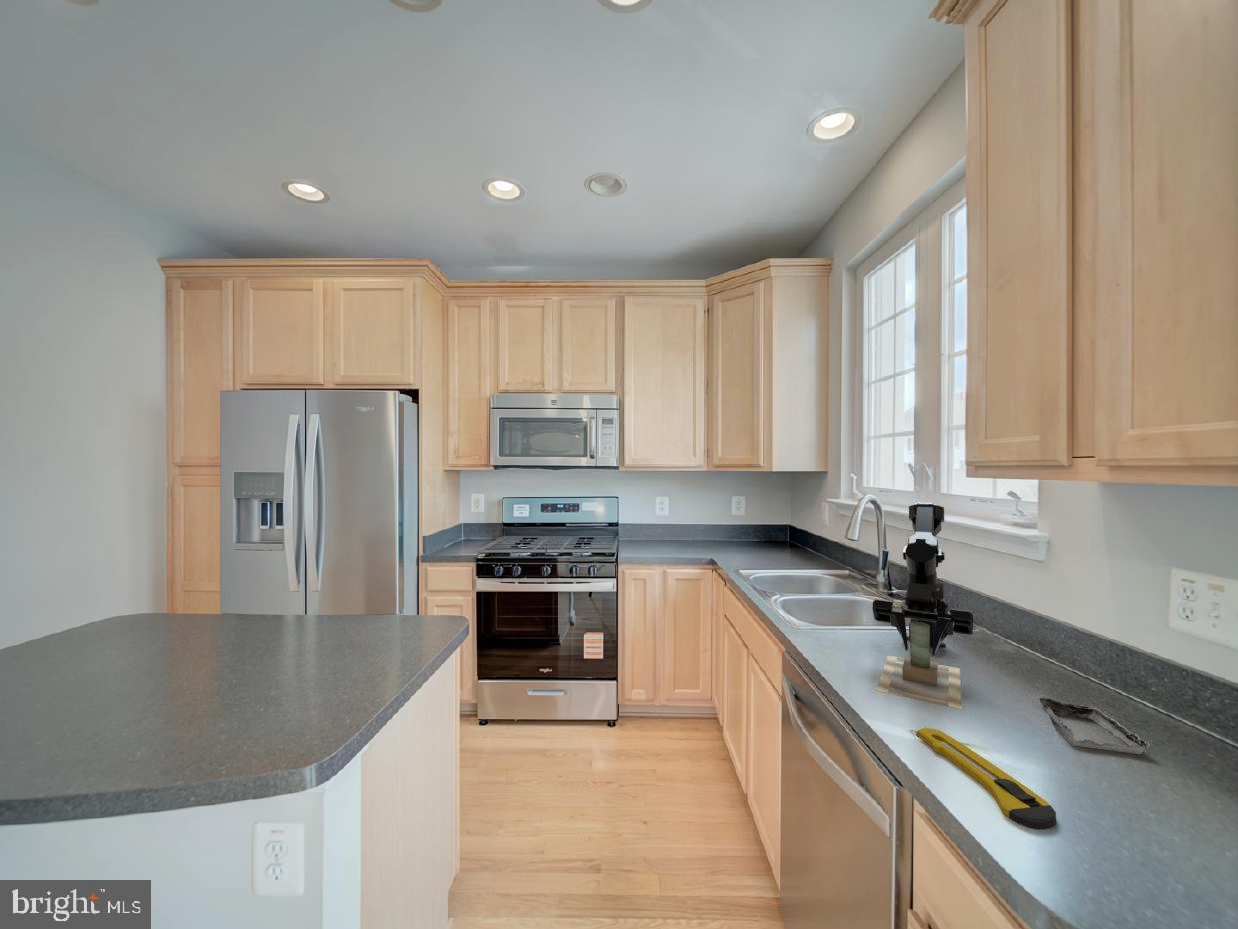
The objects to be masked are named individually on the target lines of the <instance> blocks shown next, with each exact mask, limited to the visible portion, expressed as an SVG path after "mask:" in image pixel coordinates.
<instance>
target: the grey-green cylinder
mask: <svg viewBox="0 0 1238 929" xmlns="http://www.w3.org/2000/svg"><path fill="white" fill-rule="evenodd" d="M909 623H910V640H909V647H910V648H909V650H910V652H909V654H910V655H909V656H908V655H905V656H904V658H905V659H904V663H903V668H902V672H903V680H906V681H911V682H916V683H921V684H926V685H930V686H935V687H937V674H938V666H937V664H938V661H937V660H931V647H930V625H928V624H926V623H922V622H909Z"/></svg>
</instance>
